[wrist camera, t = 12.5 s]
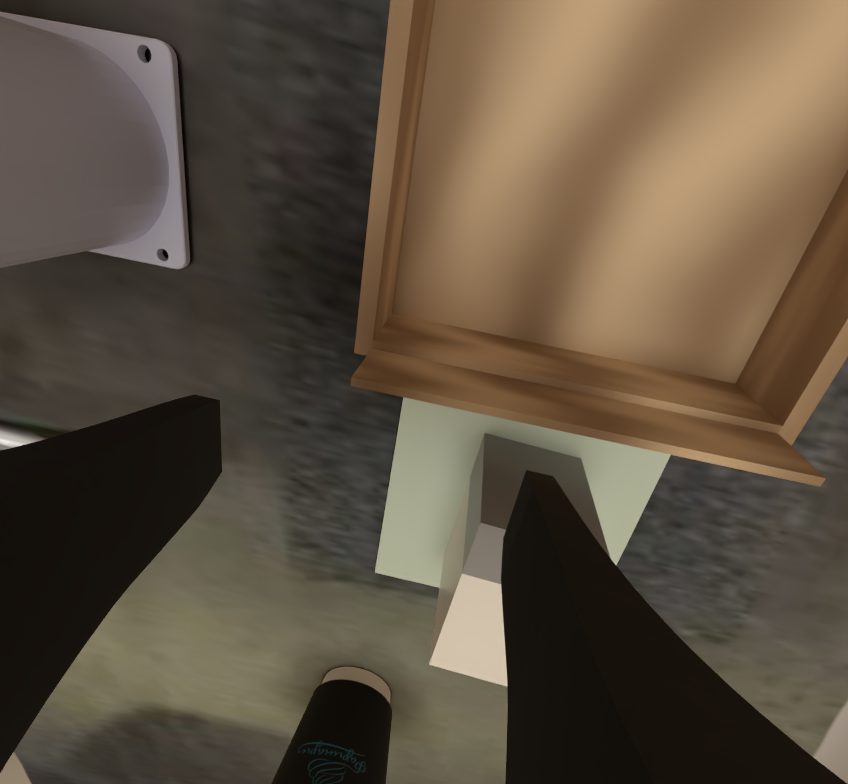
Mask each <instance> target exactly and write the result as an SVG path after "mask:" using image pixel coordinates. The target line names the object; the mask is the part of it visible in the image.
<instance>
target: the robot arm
mask: <svg viewBox="0 0 848 784" xmlns="http://www.w3.org/2000/svg"><path fill="white" fill-rule="evenodd" d="M147 48H149V50H150V52H151V55H152V56H151V60H150V61H149V63H148V62H147V60H146V58H145V51H146V49H147ZM163 249H164V250H166V252H167V253H168V256H169V257H168V259H166V258H165V256H164V255H163ZM84 251H90V252H95V253H100V254H105V255H110V256H114V257H119V258H124V259H129V260H134V261H139V262H144V263H149V264H154V265H159V266H163V267H168V268H173V269H181V268H184V267H186V266H188V264H189V263H190V249H189V233H188V218H187V202H186V187H185V172H184V156H183V141H182V125H181V110H180V94H179V79H178V63H177V57H176V53H175V52H174V50H173V48H172V47H171V46H170V45H169V44H168V43H165V42H163V41H160V40H158V39H153V38H147V37H141V36H136V35H130V34H124V33H119V32H113V31H107V30H101V29H96V28H90V27H84V26H79V25H73V24H67V23H62V22H56V21H50V20H45V19H39V18H33V17H28V16H22V15H16V14H11V13H5V12H0V268H2V267H7V266H12V265H17V264H22V263H28V262H33V261H38V260H43V259H48V258H53V257H58V256H63V255H69V254H74V253H79V252H84ZM221 472H222V459H221V428H220V400H216V399H211V398H207V397H203V396H198V395H191V396H187V397H183V398H179V399H175V400H172V401H169V402H165V403H162V404H159V405H156V406H153V407H150V408H146V409H143V410H140V411H137V412H134V413H131V414H128V415H125V416H122V417H119V418H115V419H112V420H109V421H106V422H103V423H100V424H97V425H93V426H90V427H86V428H83V429H80V430H76V431H73V432H69V433H66V434H62V435H59V436H55V437H52V438H48V439H45V440H42V441H38V442H34V443H30V444H26V445H22V446H18V447H14V448H10V449H6V450H2V451H0V772H1V771H2V769H3V768H4V766H5V764H6V763H7V761H8V759H9V758H10V756H11V755H12V753H13V752H14V750H15V749H16V747H17V745H18V744H19V742H20V741H21V739H22V738H23V736H24V735H25V733H26V731H27V730H28V728H29V727H30V725H31V724H32V722H33V721H34V719H35V718H36V716H37V714H38V713H39V711H40V710H41V708H42V707H43V705H44V704H45V702H46V701H47V699H48V698H49V696H50V695H51V693H52V692H53V690H54V689H55V687H56V686H57V684H58V683H59V681H60V680H61V679H62V677H63V676H64V674H65V673H66V671H67V670H68V668H69V667H70V665H71V664H72V663H73V661H74V660H75V658H76V657H77V655H78V654H79V652H80V651H81V649H82V648H83V647H84V645H85V644H86V643H87V641H88V640H89V638H90V637H91V636H92V634H93V633H94V632H95V630H96V629H97V627H98V626H99V625H100V623H101V622H102V621H103V619H104V618H105V616H106V615H107V614H108V612H109V611H110V610H111V608H112V607H113V605H114V604H115V603H116V602H117V600H118V599H119V598H120V597H121V596H122V594H123V593H124V592H125V591H126V589H127V588H128V587H129V586H130V585H131V584H132V582H133V581H134V580H135V579H136V578H137V577H138V576H139V574H140V573H141V572H142V571H143V570H144V569H145V568H146V567H147V565H148V564H149V563H150V562H151V561H152V560H153V559H154V557H155V556H156V555H157V554H158V553H159V552H160V551H161V550H162V548H163V547H164V546H165V545H166V544H167V543H168V542H169V541H170V539H171V538H172V537H173V536H174V535H175V534H176V533H177V531H178V530H179V529H180V528H181V527H182V526H183V524H184V523H185V522H186V521H187V520H188V519H189V518H190V516H191V515H192V514H193V513H194V512H195V510H196V509H197V508H198V507H199V506H200V504H201V503H202V501H203V500H204V498H205V497H206V495H207V494H208V492H209V491H210V489H211V488H212V486H213V485H214V483H215V482H216V480H217V478H218V477H219V475H220V474H221ZM501 590H502V607H503V623H504V638H505V653H506V668H507V687H508V723H507V759H506V784H847V783H845V782H844V781H843V780H841V779H840V778H839V777H838V776H836V775H835V774H834V773H832V772H831V771H830V770H829V769H827V768H826V767H825V766H823V765H822V764H821V763H819V762H818V761H817V760H816V759H814V758H813V757H812V756H811V755H809V754H808V753H807V752H806V751H805V750H803V749H802V748H801V747H800V746H799V745H797V744H796V743H795V742H794V741H793V740H791V739H790V738H789V737H788V736H787V735H786V734H784V733H783V732H782V731H781V730H780V729H778V728H777V727H776V726H775V725H774V724H772V723H771V722H770V721H769V720H768V719H767V718H765V717H764V716H763V715H762V714H761V713H759V712H758V711H757V710H756V709H755V708H754V707H753V706H752V705H750V704H749V703H748V702H747V701H746V700H745V699H744V698H743V697H741V696H740V695H739V694H738V693H737V692H736V691H735V690H734V689H732V688H731V687H730V686H729V685H728V684H727V683H726V682H725V681H724V680H723V679H722V678H721V677H720V676H719V675H717V674H716V673H715V672H714V671H713V670H712V669H711V668H710V667H709V666H708V665H707V664H706V663H705V662H704V661H703V660H702V659H701V658H700V657H699V656H697V655H696V654H695V653H694V652H693V651H692V650H691V649H690V648H689V647H688V646H687V645H686V644H685V643H684V642H683V641H682V640H681V639H680V638H679V637H678V636H677V635H676V634H675V633H674V632H673V630H672V629H671V628H670V627H669V626H668V625H667V624H666V623H665V622H664V621H663V620H662V619H661V617H660V616H659V615H658V614H657V613H656V612H655V611H654V610H653V609H652V608H651V607H650V606H649V604H648V603H647V602H646V601H645V600H644V599H643V598H642V596H641V595H640V594H639V593H638V592H637V591H636V590H635V588H634V587H633V586H632V585H631V584H630V582H629V581H628V580H627V579H626V577H625V576H624V575H623V574H622V572H621V571H620V570H619V569H618V567H617V566H616V565H615V564H614V562H613V561H612V560H611V558H610V557H609V556H608V555H607V553H606V552H605V551H604V549H603V548H602V547H601V545H600V544H599V542H598V541H597V540H596V538H595V537H594V536H593V534H592V533H591V531H590V530H589V528H588V527H587V526H586V524H585V523H584V521H583V520H582V518H581V517H580V515H579V514H578V512H577V511H576V509H575V508H574V506H573V505H572V503H571V502H570V500H569V499H568V497H567V496H566V494H565V493H564V491H563V490H562V488H561V487H560V485H559V484H558V482H557V481H556V479H555V478H554V477H553V476H551V475H546V474H542V473H537V472H533V471H528V470H526V472H525V475H524V478H523V481H522V484H521V487H520V490H519V493H518V496H517V499H516V502H515V505H514V508H513V510H512V513H511V516H510V519H509V522H508V525H507V528H506V531H505V534H504V537H503V550H502V567H501Z"/></svg>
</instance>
